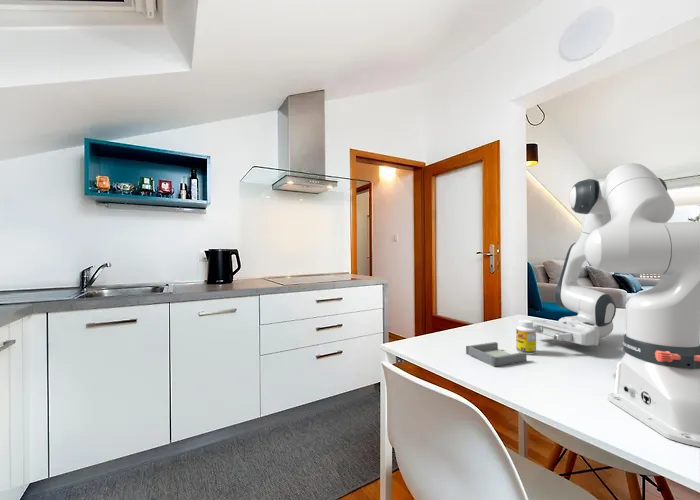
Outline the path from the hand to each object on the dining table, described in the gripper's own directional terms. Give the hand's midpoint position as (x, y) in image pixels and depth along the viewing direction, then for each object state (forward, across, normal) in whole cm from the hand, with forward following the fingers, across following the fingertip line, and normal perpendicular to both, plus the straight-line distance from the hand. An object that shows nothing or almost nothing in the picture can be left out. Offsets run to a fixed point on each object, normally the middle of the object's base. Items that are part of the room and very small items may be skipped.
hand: (542, 333), depth 103 cm
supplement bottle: (+7, 0, +6) cm, 9 cm away
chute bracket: (+20, 0, +6) cm, 21 cm away
